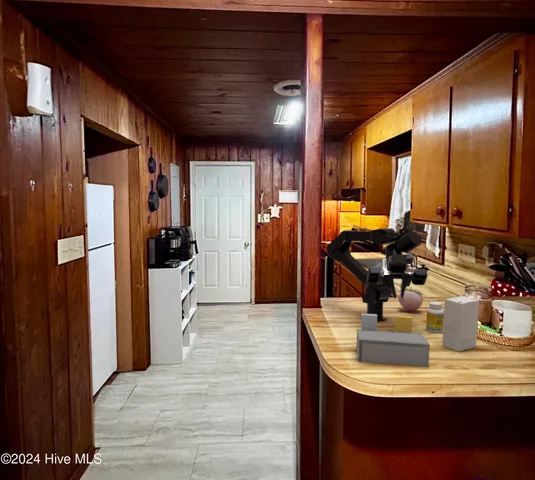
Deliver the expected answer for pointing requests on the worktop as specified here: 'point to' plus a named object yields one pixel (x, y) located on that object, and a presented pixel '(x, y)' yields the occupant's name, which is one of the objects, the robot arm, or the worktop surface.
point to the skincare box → (460, 323)
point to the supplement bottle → (435, 317)
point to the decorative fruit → (411, 299)
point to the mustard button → (403, 324)
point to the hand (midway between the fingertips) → (398, 297)
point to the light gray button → (369, 322)
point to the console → (392, 348)
